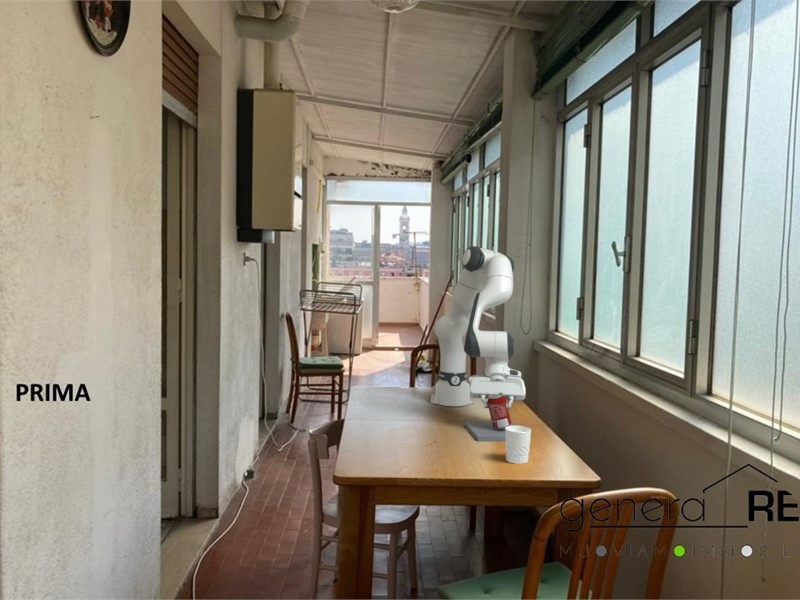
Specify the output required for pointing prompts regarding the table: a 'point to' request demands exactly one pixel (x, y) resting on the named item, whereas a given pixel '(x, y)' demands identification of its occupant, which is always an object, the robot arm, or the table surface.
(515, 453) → the white cup
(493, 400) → the soda can
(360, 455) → the table surface
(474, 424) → the slate board
